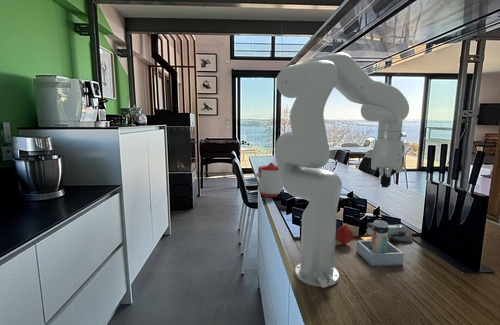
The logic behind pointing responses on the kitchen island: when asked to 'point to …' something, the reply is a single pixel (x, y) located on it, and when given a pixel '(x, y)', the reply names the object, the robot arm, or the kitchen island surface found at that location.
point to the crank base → (396, 238)
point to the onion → (344, 234)
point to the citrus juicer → (269, 180)
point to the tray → (380, 254)
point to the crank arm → (390, 229)
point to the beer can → (379, 237)
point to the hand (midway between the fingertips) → (385, 186)
